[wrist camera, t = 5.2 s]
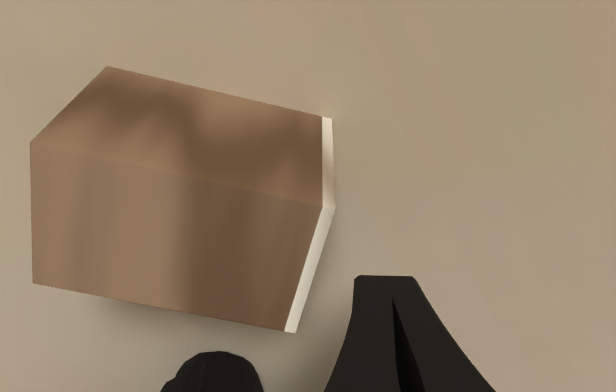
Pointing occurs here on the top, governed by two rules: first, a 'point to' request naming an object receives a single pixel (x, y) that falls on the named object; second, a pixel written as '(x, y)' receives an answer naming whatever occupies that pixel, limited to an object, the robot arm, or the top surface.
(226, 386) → the film camera
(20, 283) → the top surface
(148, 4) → the top surface
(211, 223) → the walnut block
